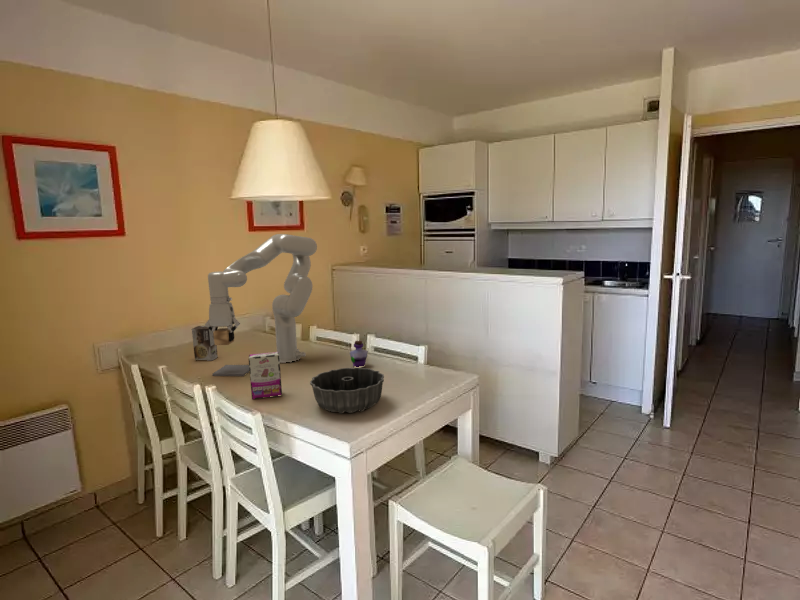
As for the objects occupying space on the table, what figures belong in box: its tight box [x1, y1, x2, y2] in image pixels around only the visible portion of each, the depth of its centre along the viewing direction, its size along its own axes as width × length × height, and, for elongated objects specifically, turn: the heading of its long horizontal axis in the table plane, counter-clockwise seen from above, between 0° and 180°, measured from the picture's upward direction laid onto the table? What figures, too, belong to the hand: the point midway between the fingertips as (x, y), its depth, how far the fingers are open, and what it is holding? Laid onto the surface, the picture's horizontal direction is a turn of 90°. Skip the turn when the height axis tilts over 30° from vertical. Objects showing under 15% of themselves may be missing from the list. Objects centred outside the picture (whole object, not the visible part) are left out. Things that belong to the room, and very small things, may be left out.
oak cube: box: [213, 327, 235, 346], centre depth 205 cm, size 6×6×6 cm
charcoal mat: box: [212, 364, 250, 377], centre depth 210 cm, size 14×13×1 cm
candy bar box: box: [248, 351, 283, 400], centre depth 178 cm, size 11×5×16 cm, turn 105°
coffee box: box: [191, 325, 218, 362], centre depth 230 cm, size 9×6×16 cm
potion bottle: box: [349, 340, 369, 367], centre depth 213 cm, size 9×9×12 cm
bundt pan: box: [309, 367, 385, 414], centre depth 169 cm, size 26×26×10 cm
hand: (224, 340), depth 205 cm, fingers closed on oak cube, 6 cm apart
